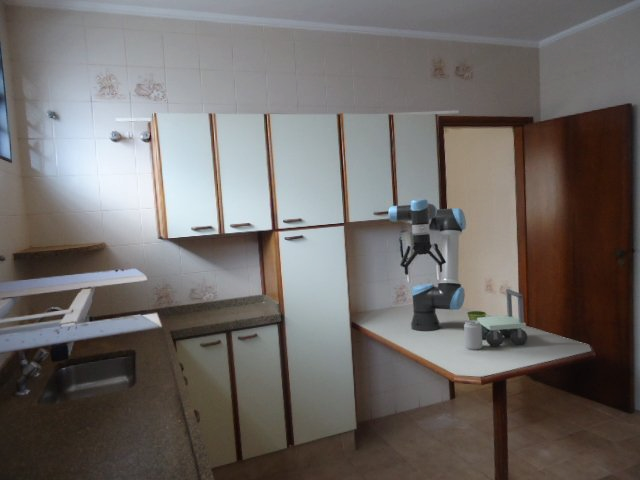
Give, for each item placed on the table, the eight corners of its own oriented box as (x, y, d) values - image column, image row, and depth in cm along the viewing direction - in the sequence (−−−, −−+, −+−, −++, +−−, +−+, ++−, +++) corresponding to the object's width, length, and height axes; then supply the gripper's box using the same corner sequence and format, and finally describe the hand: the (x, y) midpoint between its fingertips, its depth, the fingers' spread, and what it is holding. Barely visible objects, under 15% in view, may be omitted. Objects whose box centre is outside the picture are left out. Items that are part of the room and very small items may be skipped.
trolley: (476, 338, 220) (473, 291, 219) (513, 335, 221) (511, 288, 219) (488, 348, 204) (486, 297, 203) (528, 345, 205) (526, 294, 203)
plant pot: (484, 326, 240) (483, 310, 239) (489, 331, 230) (488, 314, 230) (466, 327, 241) (465, 311, 240) (470, 332, 231) (469, 315, 231)
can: (483, 346, 208) (482, 320, 207) (481, 350, 201) (480, 324, 201) (466, 345, 211) (464, 319, 211) (464, 349, 205) (462, 323, 204)
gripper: (394, 236, 202) (398, 283, 204) (451, 232, 203) (453, 279, 204) (392, 235, 210) (395, 281, 211) (446, 231, 210) (448, 277, 211)
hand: (424, 280), depth 207 cm, fingers open, 13 cm apart
